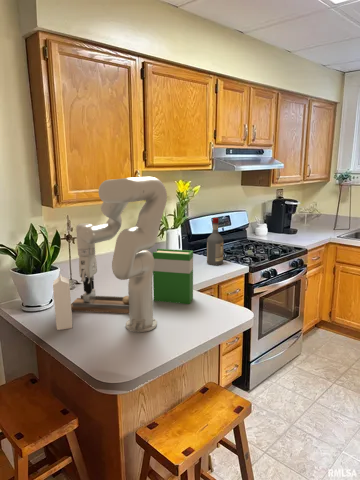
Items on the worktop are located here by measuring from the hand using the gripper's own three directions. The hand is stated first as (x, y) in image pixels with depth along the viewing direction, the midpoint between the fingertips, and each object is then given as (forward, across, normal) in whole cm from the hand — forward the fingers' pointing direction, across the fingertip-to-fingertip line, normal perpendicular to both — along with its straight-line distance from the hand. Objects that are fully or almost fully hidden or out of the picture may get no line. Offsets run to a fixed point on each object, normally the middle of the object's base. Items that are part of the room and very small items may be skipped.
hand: (89, 289), depth 163 cm
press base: (+8, 0, -8) cm, 11 cm away
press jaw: (+6, 0, 0) cm, 6 cm away
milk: (+8, -20, +3) cm, 22 cm away
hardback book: (+8, +13, -37) cm, 40 cm away
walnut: (+4, 0, -18) cm, 18 cm away
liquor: (+8, +77, -55) cm, 95 cm away
